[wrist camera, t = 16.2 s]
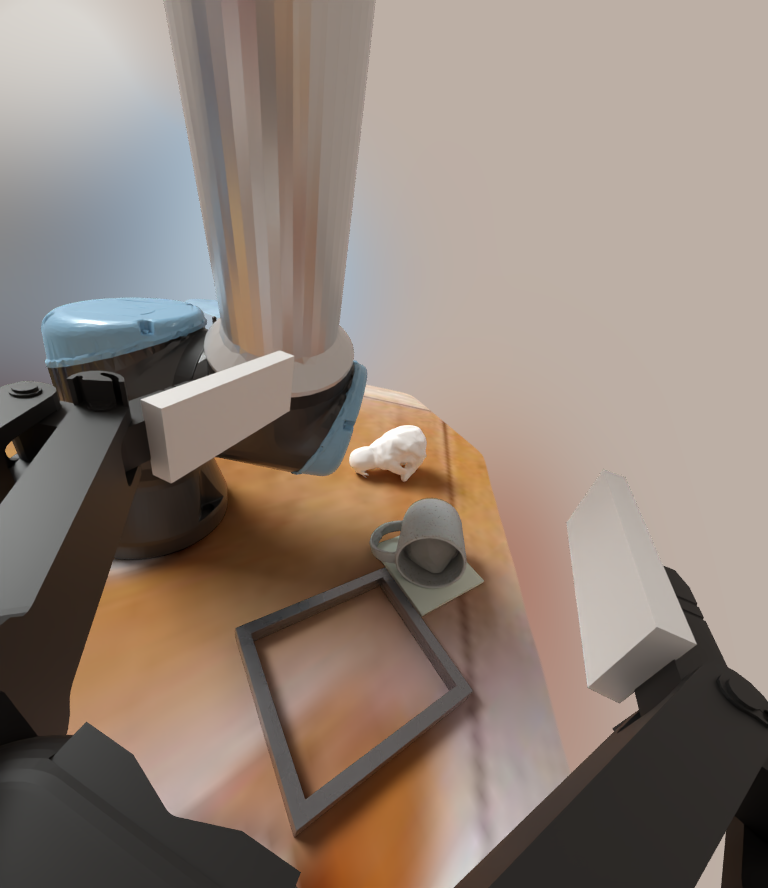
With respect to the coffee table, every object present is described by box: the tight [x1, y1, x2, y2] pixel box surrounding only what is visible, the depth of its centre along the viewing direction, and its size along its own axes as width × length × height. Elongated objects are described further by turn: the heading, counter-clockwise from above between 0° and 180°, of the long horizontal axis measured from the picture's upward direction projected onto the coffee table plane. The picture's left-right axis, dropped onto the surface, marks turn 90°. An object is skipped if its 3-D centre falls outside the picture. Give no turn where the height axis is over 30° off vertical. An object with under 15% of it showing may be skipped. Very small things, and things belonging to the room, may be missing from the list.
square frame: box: [235, 567, 473, 837], centre depth 31 cm, size 14×16×2 cm
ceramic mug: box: [370, 498, 467, 588], centre depth 41 cm, size 11×8×8 cm
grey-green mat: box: [377, 536, 484, 616], centre depth 43 cm, size 10×10×1 cm
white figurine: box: [349, 425, 427, 482], centre depth 55 cm, size 6×8×12 cm
